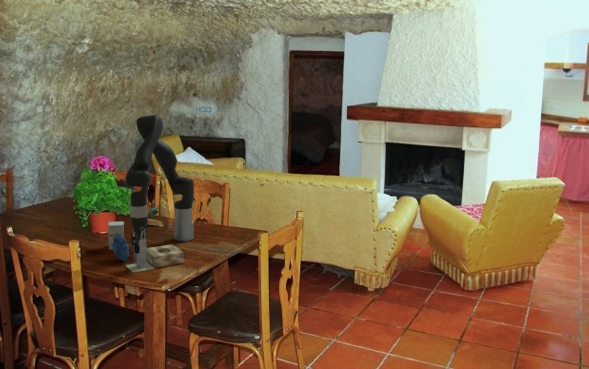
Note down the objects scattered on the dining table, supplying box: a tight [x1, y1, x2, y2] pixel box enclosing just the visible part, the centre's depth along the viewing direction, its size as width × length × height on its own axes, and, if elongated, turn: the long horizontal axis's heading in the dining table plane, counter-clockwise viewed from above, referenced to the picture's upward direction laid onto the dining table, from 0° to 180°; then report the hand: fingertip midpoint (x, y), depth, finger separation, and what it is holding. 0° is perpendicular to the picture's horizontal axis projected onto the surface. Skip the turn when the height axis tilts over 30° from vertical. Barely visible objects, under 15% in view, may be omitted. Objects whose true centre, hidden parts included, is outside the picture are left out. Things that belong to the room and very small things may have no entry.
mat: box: [125, 261, 156, 274], centre depth 266 cm, size 10×10×1 cm
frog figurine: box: [147, 200, 165, 228], centre depth 337 cm, size 10×18×15 cm, turn 55°
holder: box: [146, 244, 185, 268], centre depth 276 cm, size 14×14×5 cm
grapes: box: [112, 235, 130, 262], centre depth 274 cm, size 12×7×12 cm, turn 50°
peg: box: [132, 237, 148, 266], centre depth 265 cm, size 4×4×12 cm
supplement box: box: [107, 221, 125, 251], centre depth 293 cm, size 7×7×13 cm
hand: (139, 250), depth 265 cm, fingers closed on peg, 6 cm apart
